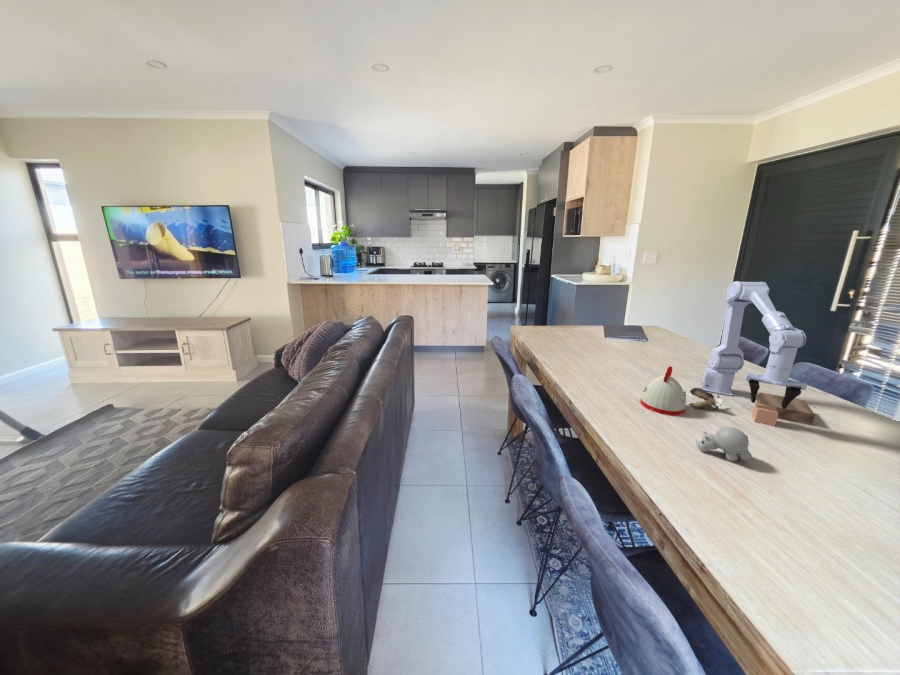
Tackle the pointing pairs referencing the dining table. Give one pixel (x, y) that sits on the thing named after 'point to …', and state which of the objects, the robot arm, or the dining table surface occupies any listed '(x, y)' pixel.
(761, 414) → the terracotta cube
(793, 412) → the walnut plinth
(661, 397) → the chicken-shaped dome
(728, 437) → the round bodied animal figurine
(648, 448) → the dining table surface
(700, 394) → the eagle figurine
